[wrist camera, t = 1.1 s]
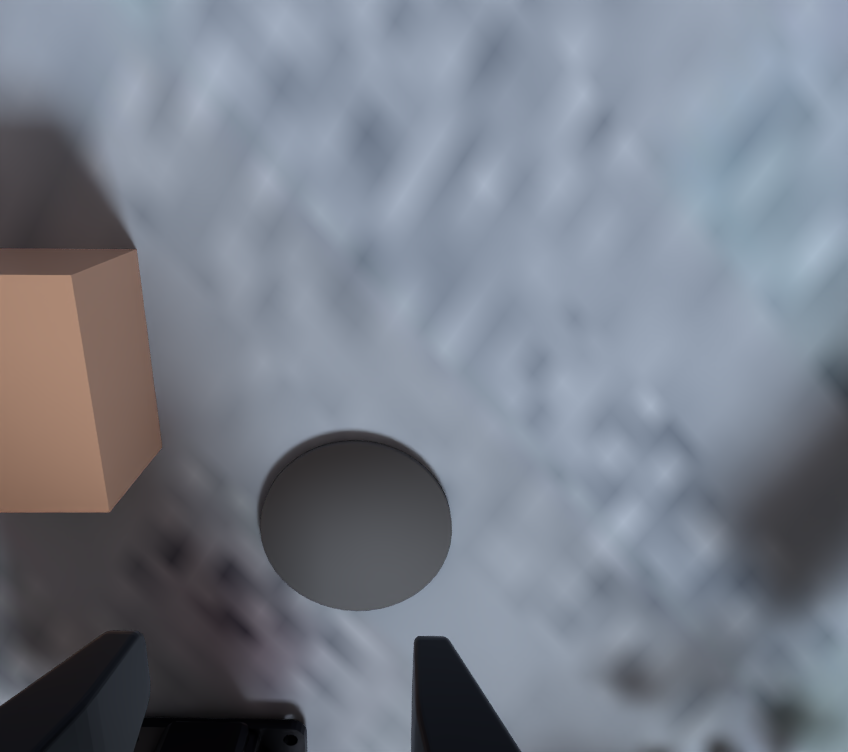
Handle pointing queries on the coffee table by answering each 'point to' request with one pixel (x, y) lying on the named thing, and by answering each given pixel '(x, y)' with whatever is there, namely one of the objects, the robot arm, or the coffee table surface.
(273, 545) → the pad
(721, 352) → the coffee table surface
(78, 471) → the terracotta block
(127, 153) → the coffee table surface
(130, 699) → the robot arm
